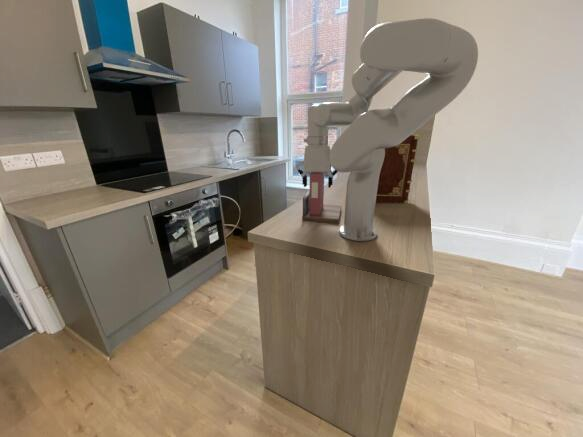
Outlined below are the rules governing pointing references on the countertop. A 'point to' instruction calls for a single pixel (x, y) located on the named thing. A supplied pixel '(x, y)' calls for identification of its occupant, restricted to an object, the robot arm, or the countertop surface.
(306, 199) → the bookend
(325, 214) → the shelf board
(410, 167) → the decorative book
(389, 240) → the countertop surface
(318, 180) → the slim book
